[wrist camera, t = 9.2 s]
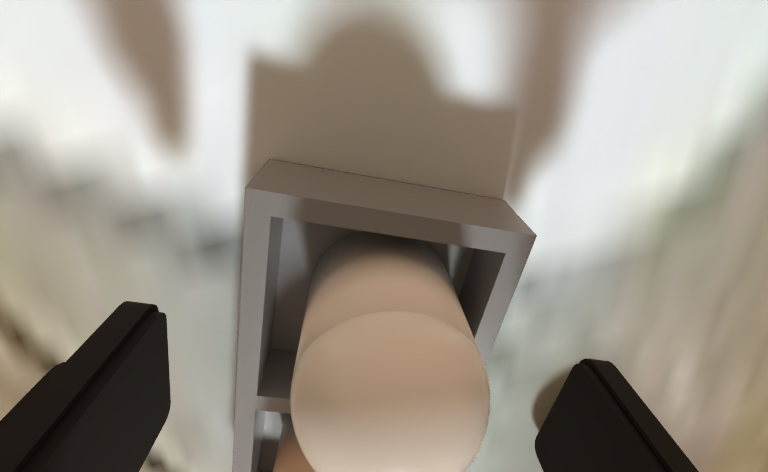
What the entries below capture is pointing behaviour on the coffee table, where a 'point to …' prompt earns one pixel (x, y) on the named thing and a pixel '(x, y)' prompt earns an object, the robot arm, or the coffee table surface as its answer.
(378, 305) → the egg
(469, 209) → the carton
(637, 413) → the robot arm
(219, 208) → the coffee table surface
